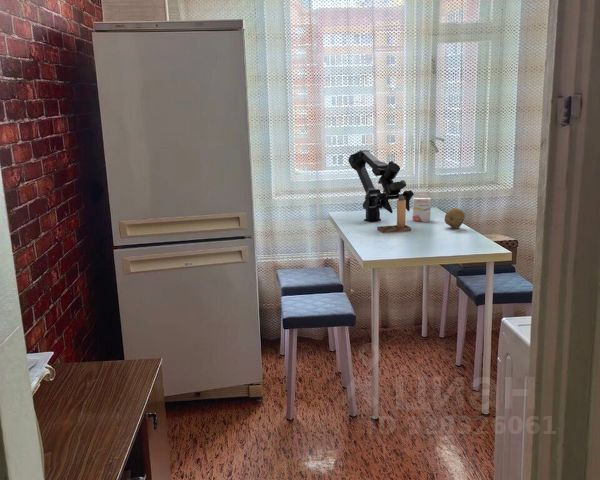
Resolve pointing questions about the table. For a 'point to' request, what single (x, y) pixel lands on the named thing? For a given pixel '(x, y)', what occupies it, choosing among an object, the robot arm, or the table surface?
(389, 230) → the brown divided tray
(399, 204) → the tan rounded column
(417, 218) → the ink cartridge box
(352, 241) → the table surface
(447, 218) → the natural sponge
